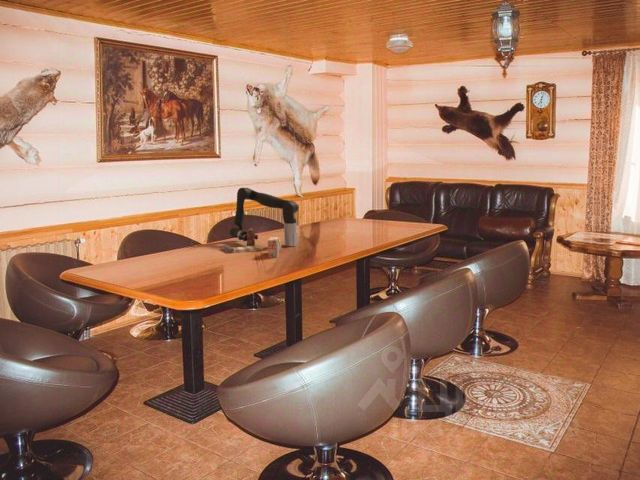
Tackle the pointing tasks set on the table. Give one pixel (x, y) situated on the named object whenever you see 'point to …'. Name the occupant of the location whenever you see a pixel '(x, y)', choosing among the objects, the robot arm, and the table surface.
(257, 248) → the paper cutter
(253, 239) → the brown pillar with knob
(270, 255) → the stack of blocks
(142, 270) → the table surface
